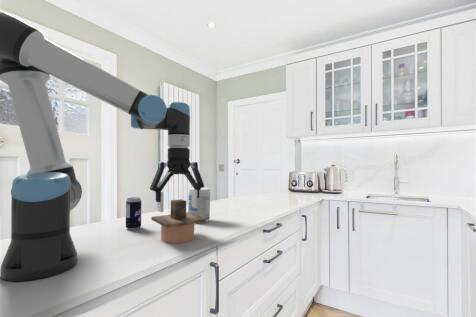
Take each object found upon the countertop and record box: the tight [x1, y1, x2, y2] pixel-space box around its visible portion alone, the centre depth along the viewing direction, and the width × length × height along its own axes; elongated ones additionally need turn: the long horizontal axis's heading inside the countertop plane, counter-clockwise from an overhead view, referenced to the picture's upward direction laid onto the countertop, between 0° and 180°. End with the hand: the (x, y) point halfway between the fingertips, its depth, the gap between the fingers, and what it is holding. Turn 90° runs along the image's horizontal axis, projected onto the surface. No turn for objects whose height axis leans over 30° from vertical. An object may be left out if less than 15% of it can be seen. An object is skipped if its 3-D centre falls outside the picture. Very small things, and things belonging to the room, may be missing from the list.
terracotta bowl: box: [160, 224, 195, 244], centre depth 91 cm, size 11×11×6 cm
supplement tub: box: [187, 187, 211, 224], centre depth 116 cm, size 10×10×15 cm
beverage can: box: [125, 196, 142, 231], centre depth 103 cm, size 6×6×12 cm
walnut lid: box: [150, 199, 207, 228], centre depth 91 cm, size 14×14×7 cm
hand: (178, 209), depth 91 cm, fingers open, 12 cm apart
